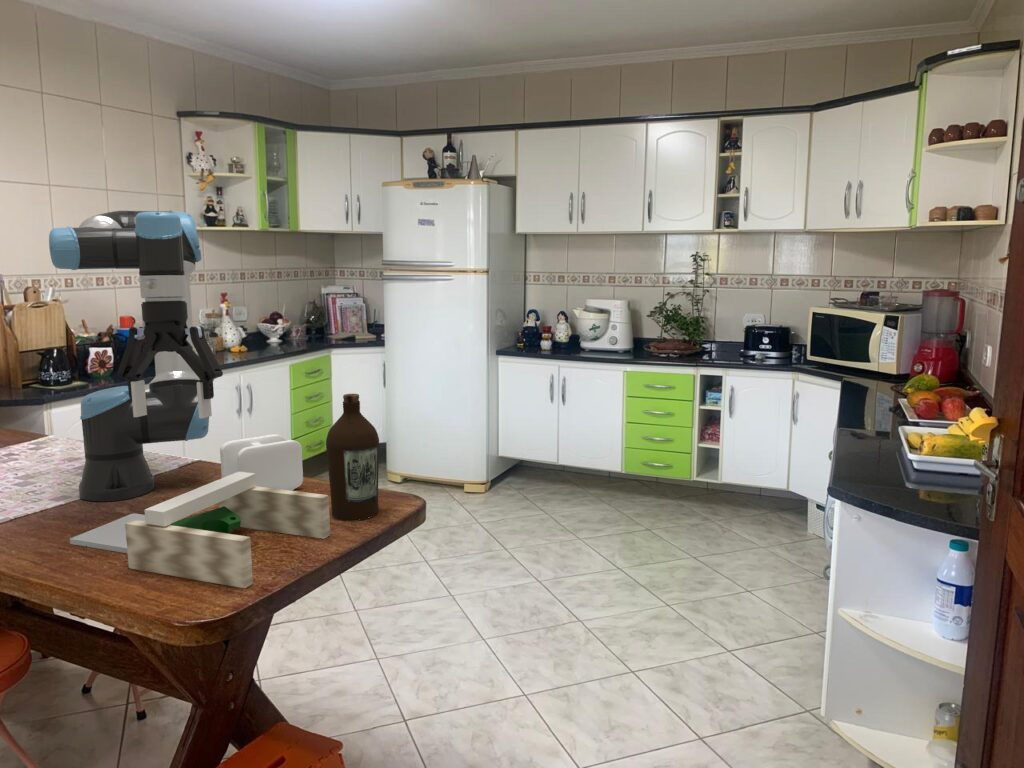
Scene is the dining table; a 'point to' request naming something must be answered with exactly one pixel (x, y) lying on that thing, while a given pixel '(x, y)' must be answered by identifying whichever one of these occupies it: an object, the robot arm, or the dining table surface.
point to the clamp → (212, 521)
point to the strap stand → (226, 537)
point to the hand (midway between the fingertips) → (172, 416)
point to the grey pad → (108, 535)
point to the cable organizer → (265, 460)
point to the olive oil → (353, 463)
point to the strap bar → (199, 499)
